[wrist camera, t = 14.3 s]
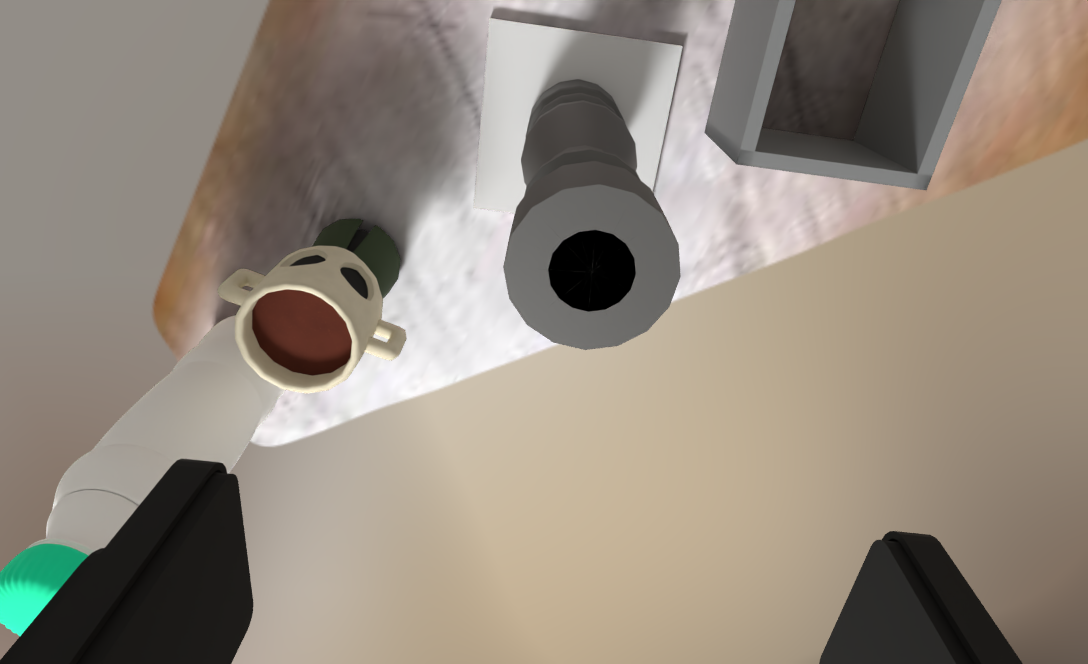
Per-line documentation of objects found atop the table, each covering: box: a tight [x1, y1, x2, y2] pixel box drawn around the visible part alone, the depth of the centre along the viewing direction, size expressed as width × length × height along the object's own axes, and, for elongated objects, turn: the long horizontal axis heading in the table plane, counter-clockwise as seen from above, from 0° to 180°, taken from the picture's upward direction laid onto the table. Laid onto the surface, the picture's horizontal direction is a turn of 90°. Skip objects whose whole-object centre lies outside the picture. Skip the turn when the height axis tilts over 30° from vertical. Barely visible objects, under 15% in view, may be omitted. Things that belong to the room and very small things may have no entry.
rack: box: [705, 0, 1001, 190], centre depth 37 cm, size 16×11×9 cm, turn 173°
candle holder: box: [504, 79, 680, 350], centre depth 33 cm, size 6×6×25 cm
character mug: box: [218, 218, 406, 394], centre depth 43 cm, size 11×7×13 cm, turn 67°
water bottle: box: [0, 315, 286, 636], centre depth 41 cm, size 7×7×25 cm
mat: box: [473, 18, 683, 214], centre depth 44 cm, size 12×12×1 cm
